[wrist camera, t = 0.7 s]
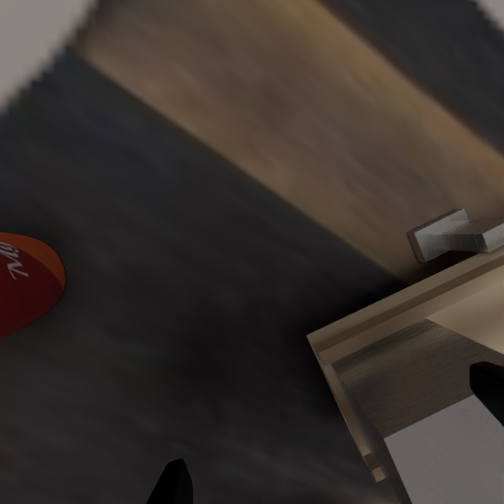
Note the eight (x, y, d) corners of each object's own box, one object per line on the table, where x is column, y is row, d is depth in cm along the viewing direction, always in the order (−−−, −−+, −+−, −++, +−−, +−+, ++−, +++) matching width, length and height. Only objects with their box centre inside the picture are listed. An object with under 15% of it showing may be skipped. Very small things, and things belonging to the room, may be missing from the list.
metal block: (456, 403, 17) (579, 500, 11) (366, 447, 17) (441, 569, 11) (420, 316, 16) (530, 366, 10) (327, 360, 16) (383, 438, 10)
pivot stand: (507, 350, 23) (588, 381, 18) (463, 375, 23) (532, 413, 18) (455, 209, 22) (525, 201, 17) (406, 233, 21) (464, 231, 16)
